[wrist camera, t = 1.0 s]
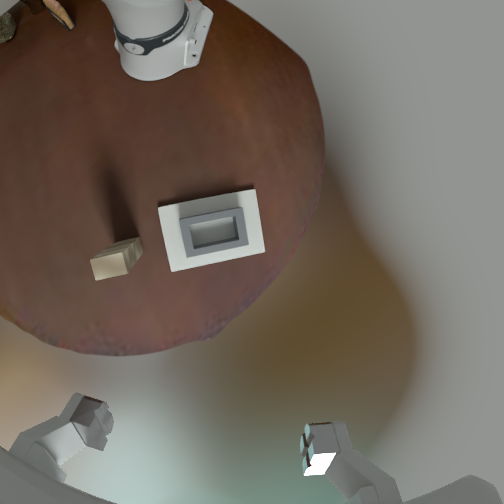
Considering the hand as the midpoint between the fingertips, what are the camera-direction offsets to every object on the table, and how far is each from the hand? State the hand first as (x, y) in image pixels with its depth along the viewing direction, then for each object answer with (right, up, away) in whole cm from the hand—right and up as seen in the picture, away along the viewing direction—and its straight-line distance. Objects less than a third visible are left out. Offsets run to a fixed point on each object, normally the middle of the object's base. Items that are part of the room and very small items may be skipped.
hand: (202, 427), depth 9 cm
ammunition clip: (-41, +60, +25) cm, 76 cm away
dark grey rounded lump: (-57, +60, +21) cm, 85 cm away
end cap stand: (-5, +11, +43) cm, 44 cm away
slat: (-21, +8, +40) cm, 45 cm away
